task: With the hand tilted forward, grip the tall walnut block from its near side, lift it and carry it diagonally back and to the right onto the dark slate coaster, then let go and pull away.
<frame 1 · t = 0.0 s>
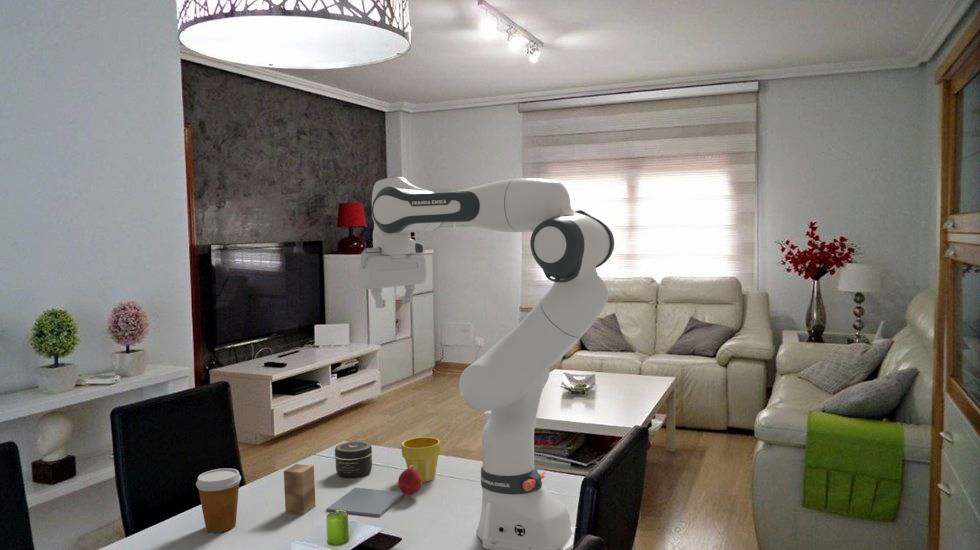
hand: (394, 305, 162), 48 cm above the table, tool pointing down, fingers open, 8 cm apart
walnut block: (300, 509, 164), on the table
jar: (354, 474, 188), on the table
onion: (408, 496, 170), on the table
disposable coffee cup: (221, 527, 155), on the table
slate coaster: (366, 502, 167), on the table
plant pot: (422, 478, 183), on the table
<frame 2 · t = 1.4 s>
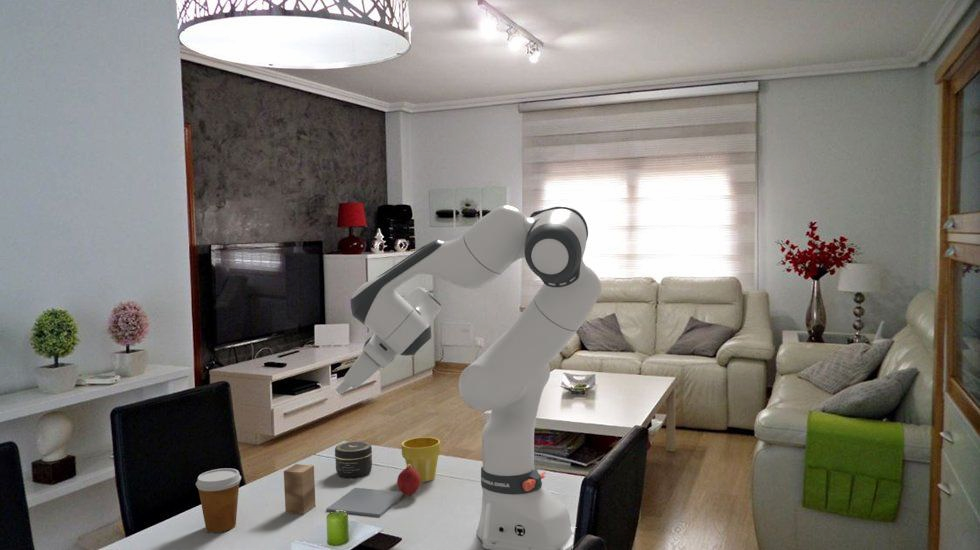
hand: (343, 384, 159), 30 cm above the table, tool tilted 45°, fingers open, 8 cm apart
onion: (408, 497, 170), on the table, touching slate coaster
everything else where it was.
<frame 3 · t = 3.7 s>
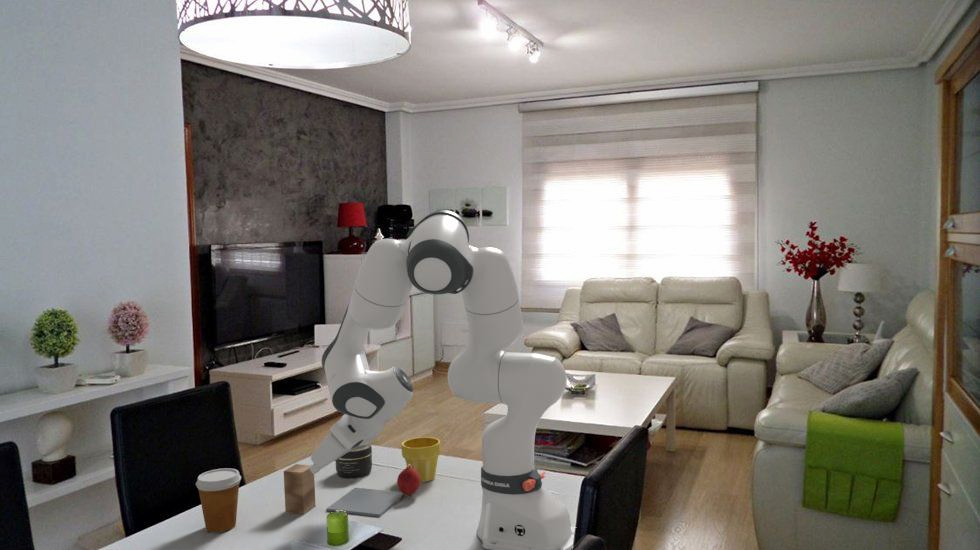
hand: (323, 464, 159), 12 cm above the table, tool tilted 45°, fingers open, 8 cm apart
nothing on the table moved.
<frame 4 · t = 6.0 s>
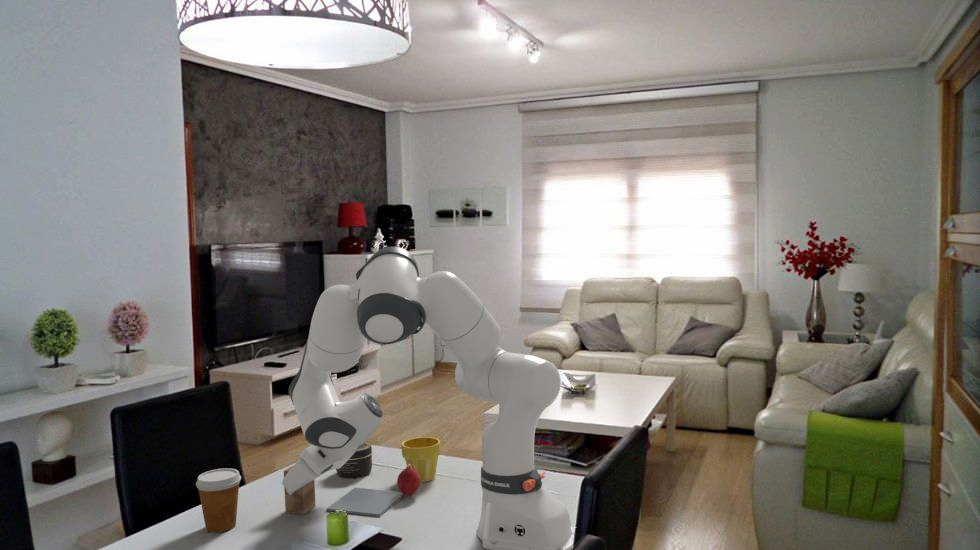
hand: (297, 487, 163), 5 cm above the table, tool tilted 45°, fingers closed on walnut block, 5 cm apart
walnut block: (300, 509, 164), on the table, touching gripper
everything else where it was.
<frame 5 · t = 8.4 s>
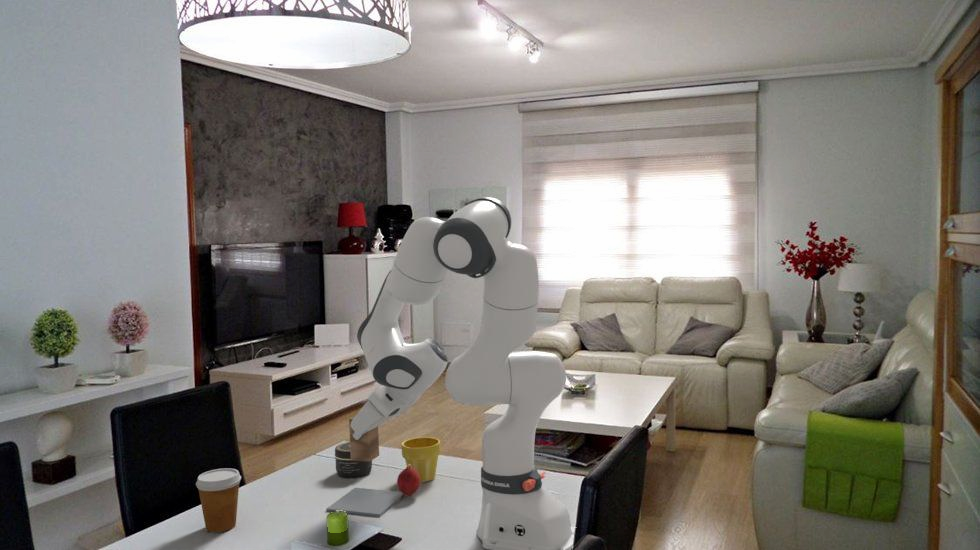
hand: (362, 433, 166), 17 cm above the table, tool tilted 45°, fingers closed on walnut block, 5 cm apart
walnut block: (365, 457, 166), point 11 cm above the table, touching gripper
everything else where it was.
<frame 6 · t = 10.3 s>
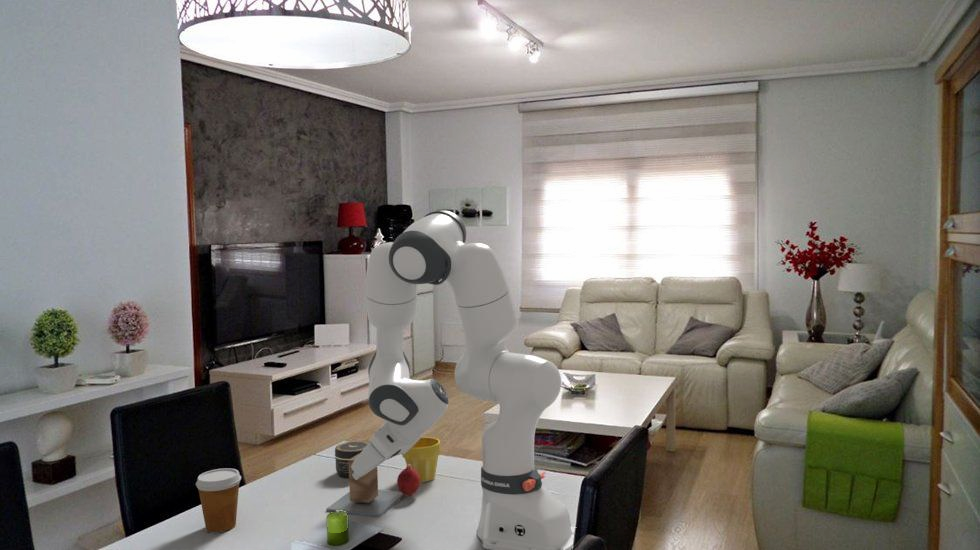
hand: (361, 472, 166), 8 cm above the table, tool tilted 45°, fingers closed on walnut block, 5 cm apart
walnut block: (364, 498, 166), point 1 cm above the table, touching gripper
everything else where it was.
when the fingers open (7 cm above the table, at t = 10.9 s): walnut block stays where it is, resting on slate coaster.
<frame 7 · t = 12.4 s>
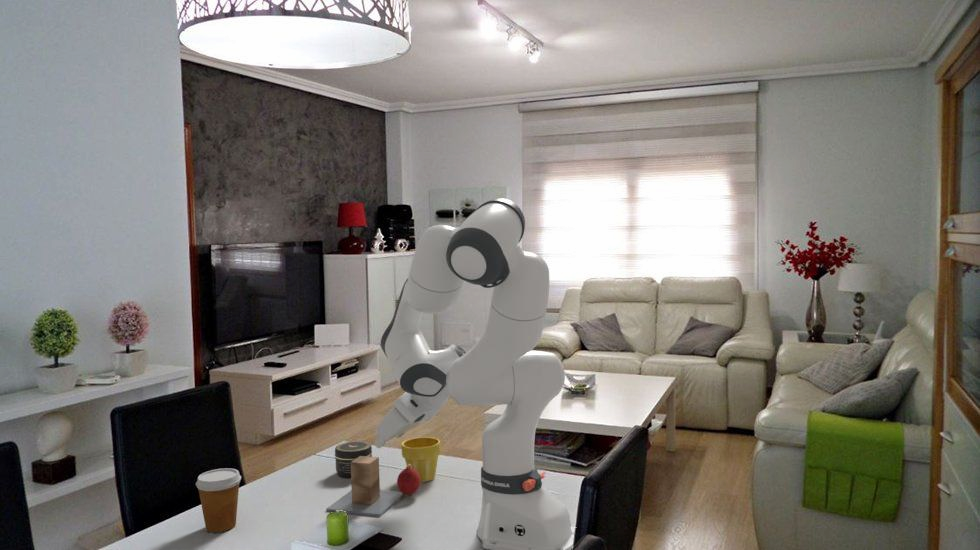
hand: (387, 440, 165), 15 cm above the table, tool tilted 45°, fingers open, 8 cm apart
walnut block: (366, 500, 166), point 1 cm above the table, touching slate coaster
everything else where it was.
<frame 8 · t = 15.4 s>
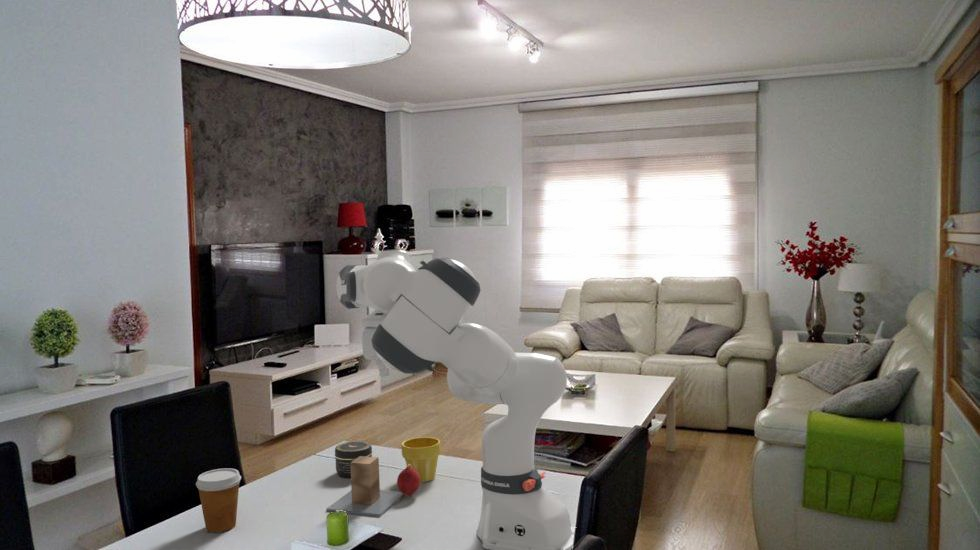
hand: (397, 372, 168), 31 cm above the table, tool pointing down, fingers open, 8 cm apart
nothing on the table moved.
at the end: walnut block inside the target area on the slate coaster (0.2 cm from its centre), point 0.6 cm above the slate coaster's base; the gripper is holding nothing; walnut block tilted 0° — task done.
